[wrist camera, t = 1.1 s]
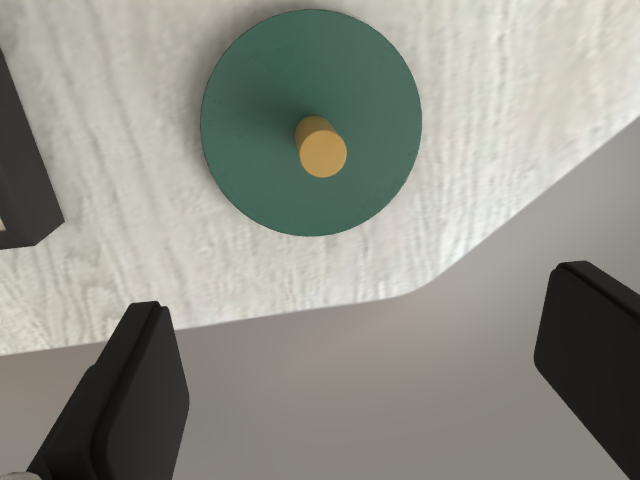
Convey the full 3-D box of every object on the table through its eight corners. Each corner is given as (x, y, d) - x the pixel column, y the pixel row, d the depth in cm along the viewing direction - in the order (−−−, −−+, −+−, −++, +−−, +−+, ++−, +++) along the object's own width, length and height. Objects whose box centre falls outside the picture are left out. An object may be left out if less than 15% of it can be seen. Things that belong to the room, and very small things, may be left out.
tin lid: (184, 17, 23) (154, 5, 17) (421, 5, 24) (468, -10, 18) (221, 238, 29) (207, 284, 23) (411, 221, 30) (445, 262, 24)
